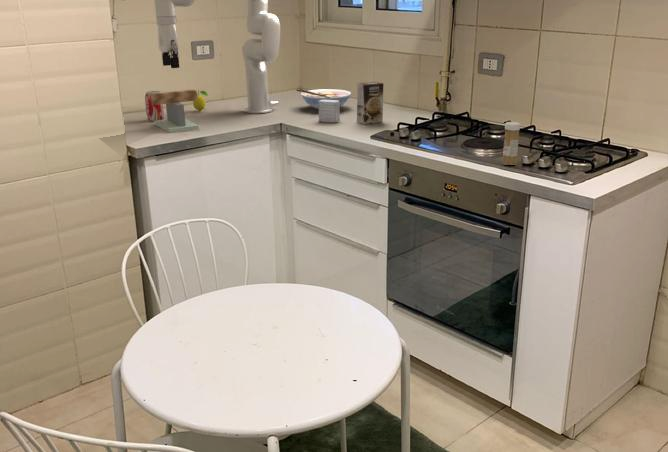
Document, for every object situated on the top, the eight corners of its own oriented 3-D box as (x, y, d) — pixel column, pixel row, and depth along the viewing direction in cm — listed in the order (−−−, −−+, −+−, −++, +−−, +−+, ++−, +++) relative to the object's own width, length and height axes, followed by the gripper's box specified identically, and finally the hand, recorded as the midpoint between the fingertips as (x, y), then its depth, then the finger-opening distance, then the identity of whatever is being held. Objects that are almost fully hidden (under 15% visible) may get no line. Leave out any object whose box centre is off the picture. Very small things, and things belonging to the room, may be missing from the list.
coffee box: (364, 124, 266) (364, 84, 260) (356, 122, 271) (356, 82, 265) (383, 122, 269) (384, 83, 264) (375, 119, 275) (375, 81, 269)
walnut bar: (153, 105, 256) (152, 94, 255) (151, 103, 259) (150, 93, 257) (197, 100, 265) (196, 90, 264) (194, 99, 268) (193, 89, 266)
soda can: (159, 122, 274) (156, 93, 270) (144, 121, 276) (141, 93, 271) (167, 118, 281) (164, 90, 277) (152, 118, 282) (148, 90, 278)
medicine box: (339, 121, 273) (339, 100, 270) (336, 123, 269) (336, 102, 266) (322, 119, 276) (321, 99, 273) (318, 122, 272) (318, 101, 269)
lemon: (209, 110, 298) (207, 88, 295) (205, 112, 293) (203, 90, 289) (195, 110, 299) (193, 88, 295) (191, 112, 294) (189, 90, 290)
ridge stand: (182, 121, 276) (180, 97, 272) (199, 129, 261) (197, 104, 257) (155, 124, 270) (152, 100, 266) (170, 132, 255) (167, 107, 251)
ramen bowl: (362, 110, 294) (362, 92, 291) (320, 116, 282) (319, 97, 279) (331, 102, 314) (331, 85, 311) (290, 108, 302) (290, 90, 299)
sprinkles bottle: (499, 163, 208) (502, 121, 204) (512, 162, 209) (516, 121, 204) (505, 167, 204) (509, 124, 199) (519, 166, 205) (523, 124, 200)
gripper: (150, 20, 256) (155, 65, 262) (164, 22, 242) (169, 69, 248) (168, 19, 260) (173, 63, 266) (183, 22, 246) (187, 68, 252)
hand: (171, 66), depth 257 cm, fingers open, 9 cm apart
